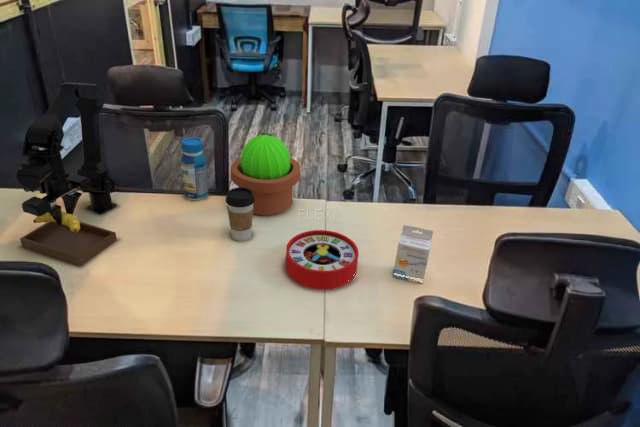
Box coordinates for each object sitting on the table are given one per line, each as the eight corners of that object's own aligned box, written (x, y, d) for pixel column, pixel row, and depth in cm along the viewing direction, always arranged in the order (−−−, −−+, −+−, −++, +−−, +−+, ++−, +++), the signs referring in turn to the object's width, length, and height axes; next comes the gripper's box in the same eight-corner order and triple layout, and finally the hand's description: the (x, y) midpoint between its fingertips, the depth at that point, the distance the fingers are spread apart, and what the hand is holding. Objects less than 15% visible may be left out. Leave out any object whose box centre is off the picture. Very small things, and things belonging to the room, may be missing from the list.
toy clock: (312, 222, 152) (371, 245, 143) (311, 238, 155) (369, 262, 146) (271, 254, 137) (334, 282, 128) (271, 271, 140) (332, 300, 131)
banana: (90, 227, 142) (88, 217, 140) (75, 237, 137) (73, 226, 136) (48, 214, 146) (46, 204, 145) (32, 223, 142) (29, 213, 140)
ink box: (392, 277, 140) (399, 233, 133) (395, 267, 145) (402, 223, 137) (422, 284, 138) (431, 240, 131) (425, 274, 143) (434, 230, 135)
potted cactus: (275, 227, 159) (276, 154, 146) (219, 207, 167) (215, 136, 154) (309, 198, 176) (313, 130, 163) (257, 181, 184) (256, 116, 171)
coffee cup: (222, 238, 152) (219, 195, 144) (236, 225, 159) (234, 182, 151) (246, 246, 150) (245, 202, 142) (260, 231, 156) (259, 189, 149)
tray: (117, 240, 149) (115, 232, 147) (80, 266, 137) (78, 258, 136) (61, 222, 155) (59, 214, 153) (22, 246, 144) (19, 238, 142)
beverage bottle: (210, 200, 171) (206, 145, 161) (184, 202, 169) (178, 146, 159) (208, 188, 178) (204, 134, 168) (183, 189, 176) (178, 136, 166)
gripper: (56, 151, 144) (68, 199, 152) (-2, 178, 129) (14, 230, 137) (87, 159, 141) (97, 208, 149) (32, 188, 126) (46, 240, 134)
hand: (64, 220), depth 142 cm, fingers closed on banana, 3 cm apart
